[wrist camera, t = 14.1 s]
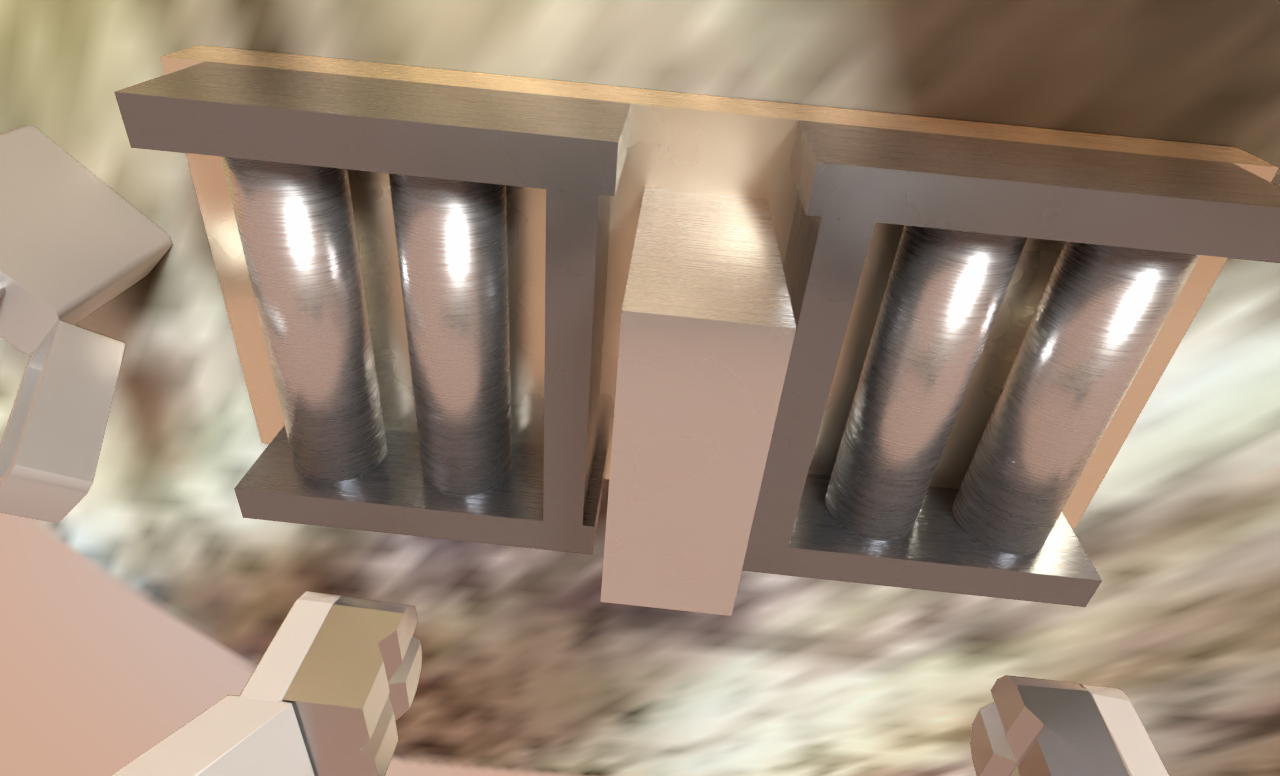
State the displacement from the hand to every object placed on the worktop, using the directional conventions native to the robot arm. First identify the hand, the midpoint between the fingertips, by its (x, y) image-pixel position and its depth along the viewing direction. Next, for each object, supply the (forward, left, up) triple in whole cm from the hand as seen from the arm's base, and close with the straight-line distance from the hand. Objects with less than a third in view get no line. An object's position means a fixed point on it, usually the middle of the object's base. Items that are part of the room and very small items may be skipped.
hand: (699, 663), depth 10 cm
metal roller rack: (0, 0, -11) cm, 11 cm away
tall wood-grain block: (0, 0, -10) cm, 10 cm away
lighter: (+15, 0, -12) cm, 19 cm away
